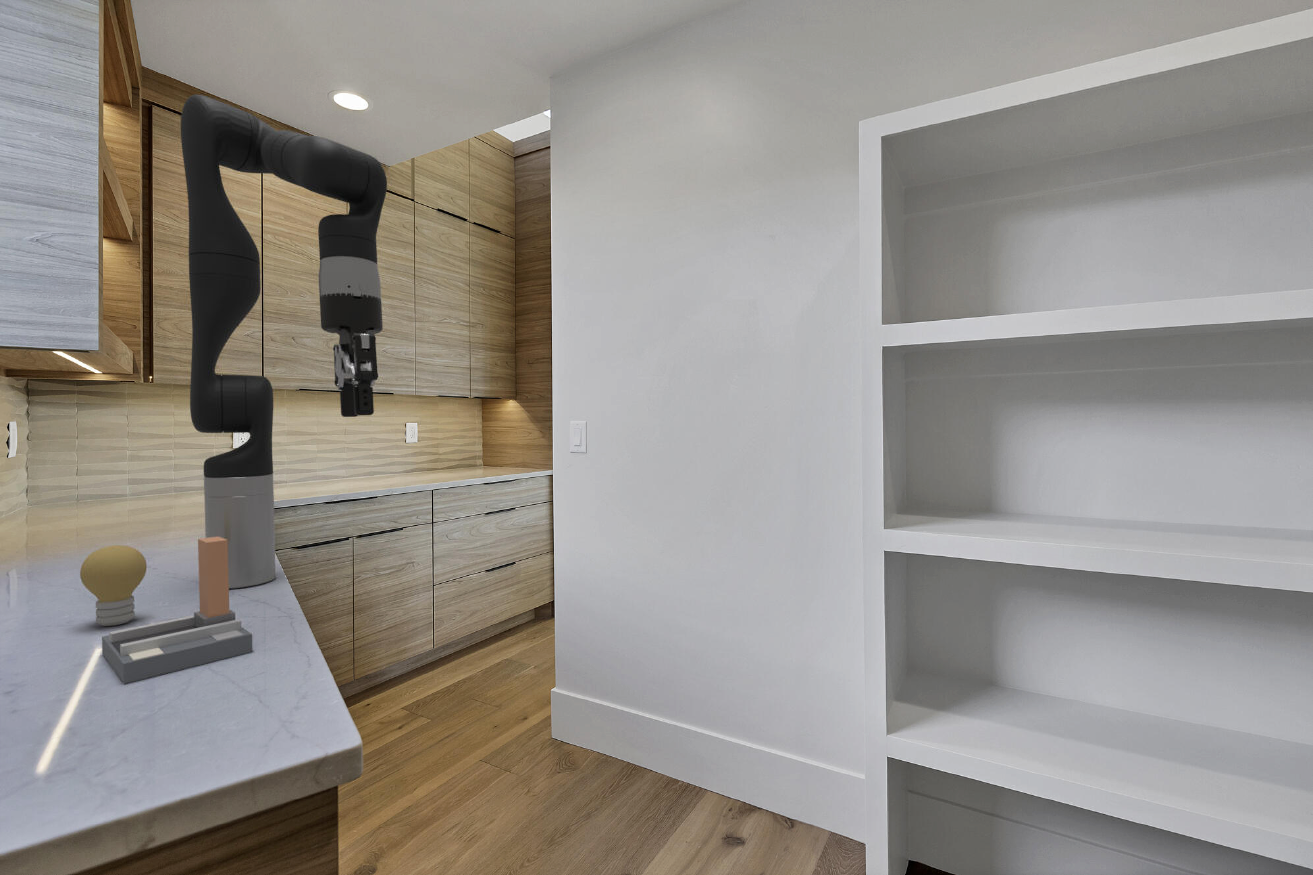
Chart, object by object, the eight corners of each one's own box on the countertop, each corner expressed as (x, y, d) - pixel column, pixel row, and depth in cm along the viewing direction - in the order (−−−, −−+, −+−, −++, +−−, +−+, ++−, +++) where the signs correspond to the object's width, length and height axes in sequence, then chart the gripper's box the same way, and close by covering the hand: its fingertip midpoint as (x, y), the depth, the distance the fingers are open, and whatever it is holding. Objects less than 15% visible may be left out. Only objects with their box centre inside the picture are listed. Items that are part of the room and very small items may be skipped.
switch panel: (102, 654, 68) (101, 627, 68) (220, 628, 77) (219, 604, 76) (123, 683, 60) (123, 653, 60) (252, 651, 69) (251, 625, 69)
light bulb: (88, 635, 74) (85, 553, 74) (76, 625, 78) (74, 547, 78) (154, 621, 79) (152, 544, 79) (140, 612, 83) (138, 539, 83)
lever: (194, 625, 71) (192, 539, 71) (224, 618, 74) (222, 535, 73) (204, 632, 69) (201, 543, 68) (235, 625, 71) (233, 539, 71)
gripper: (310, 303, 87) (316, 418, 87) (330, 283, 75) (337, 415, 76) (368, 307, 91) (373, 416, 92) (394, 289, 80) (400, 414, 80)
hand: (357, 416), depth 84 cm, fingers open, 8 cm apart
